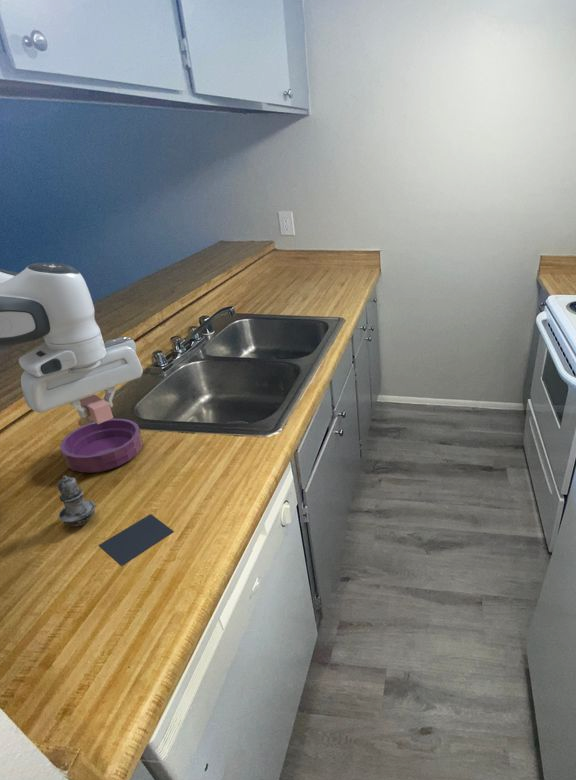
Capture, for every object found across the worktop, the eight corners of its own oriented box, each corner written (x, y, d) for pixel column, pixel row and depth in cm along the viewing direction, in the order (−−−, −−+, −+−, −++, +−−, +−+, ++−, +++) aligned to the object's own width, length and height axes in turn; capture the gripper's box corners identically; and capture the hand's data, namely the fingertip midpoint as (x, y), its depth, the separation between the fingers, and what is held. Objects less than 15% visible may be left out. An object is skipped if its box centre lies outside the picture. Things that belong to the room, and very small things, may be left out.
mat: (122, 568, 82) (121, 566, 82) (98, 547, 86) (98, 545, 86) (175, 533, 90) (174, 531, 90) (151, 515, 94) (150, 513, 93)
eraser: (113, 418, 96) (109, 403, 94) (97, 424, 93) (93, 409, 92) (98, 408, 99) (94, 394, 97) (83, 414, 96) (78, 399, 95)
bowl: (87, 485, 101) (81, 466, 99) (53, 458, 108) (47, 440, 106) (157, 450, 112) (152, 433, 110) (122, 428, 120) (117, 411, 118)
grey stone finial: (106, 521, 92) (89, 472, 86) (74, 540, 87) (55, 490, 82) (89, 509, 95) (72, 461, 89) (57, 527, 90) (37, 478, 84)
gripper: (124, 330, 98) (138, 388, 105) (7, 362, 83) (32, 427, 90) (140, 337, 95) (154, 396, 102) (22, 372, 80) (47, 439, 87)
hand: (96, 411), depth 96 cm, fingers closed on eraser, 3 cm apart
